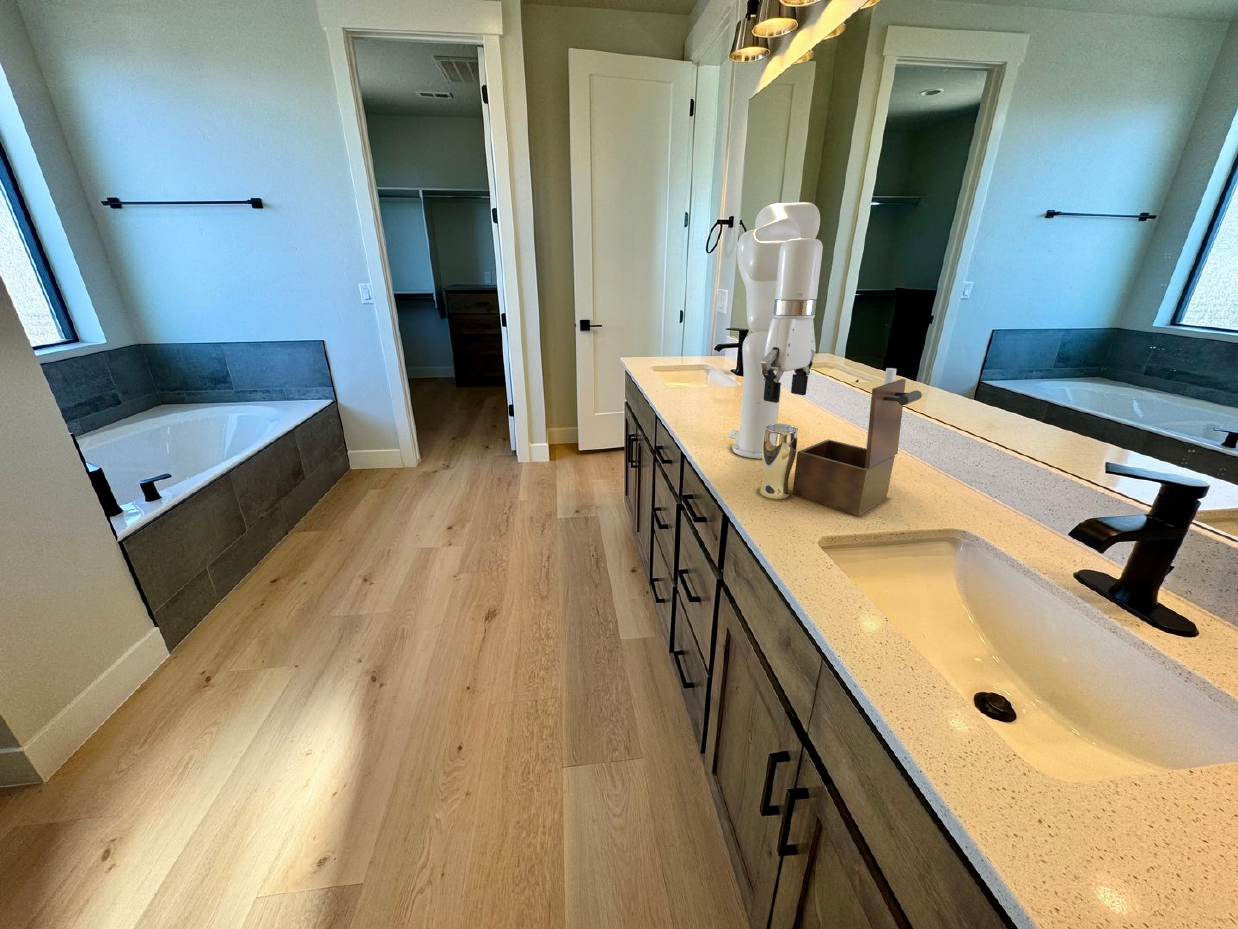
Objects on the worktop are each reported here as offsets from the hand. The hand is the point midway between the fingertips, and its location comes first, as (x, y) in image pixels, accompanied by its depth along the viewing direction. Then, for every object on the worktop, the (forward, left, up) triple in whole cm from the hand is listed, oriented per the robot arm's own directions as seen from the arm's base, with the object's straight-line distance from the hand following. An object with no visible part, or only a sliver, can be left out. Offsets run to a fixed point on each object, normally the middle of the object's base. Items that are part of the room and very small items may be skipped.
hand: (785, 397), depth 100 cm
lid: (+16, +9, -4) cm, 19 cm away
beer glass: (0, 0, -22) cm, 22 cm away
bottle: (+9, +27, -22) cm, 36 cm away
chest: (+10, +9, -22) cm, 25 cm away
